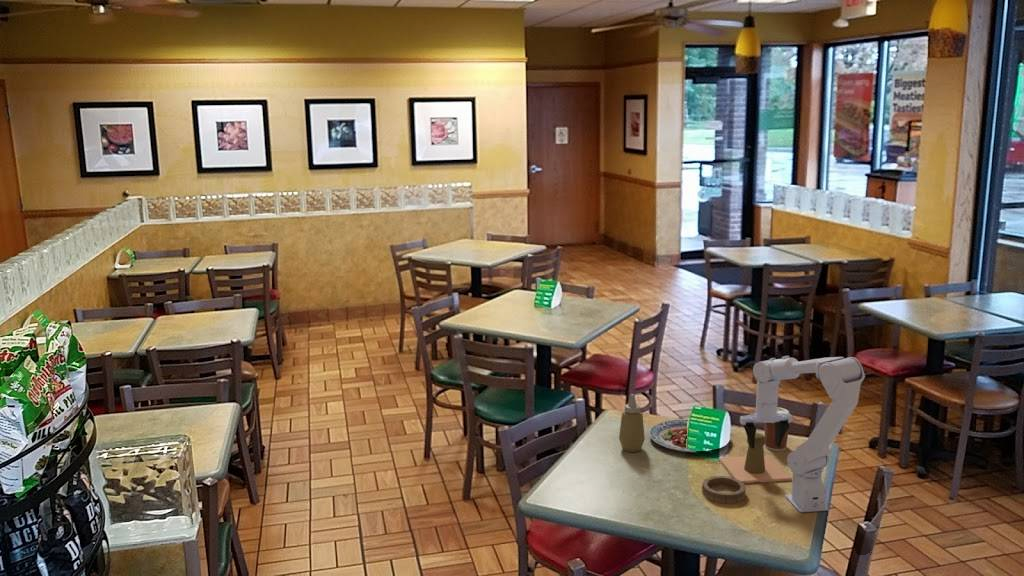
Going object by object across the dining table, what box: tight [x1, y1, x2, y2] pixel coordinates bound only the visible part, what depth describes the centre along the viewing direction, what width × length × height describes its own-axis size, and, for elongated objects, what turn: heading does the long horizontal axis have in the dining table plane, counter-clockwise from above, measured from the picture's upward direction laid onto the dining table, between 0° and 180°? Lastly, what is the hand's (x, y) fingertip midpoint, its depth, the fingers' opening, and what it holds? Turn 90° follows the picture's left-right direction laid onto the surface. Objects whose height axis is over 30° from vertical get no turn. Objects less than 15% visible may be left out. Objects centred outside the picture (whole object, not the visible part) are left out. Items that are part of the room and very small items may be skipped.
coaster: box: [718, 454, 793, 485], centre depth 243 cm, size 16×16×1 cm
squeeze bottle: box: [618, 393, 645, 453], centre depth 257 cm, size 8×8×18 cm
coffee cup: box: [763, 406, 793, 452], centre depth 257 cm, size 9×9×12 cm
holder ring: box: [701, 475, 747, 504], centre depth 229 cm, size 11×11×2 cm
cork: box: [744, 432, 765, 474], centre depth 240 cm, size 6×6×11 cm
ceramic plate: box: [648, 418, 732, 453], centre depth 265 cm, size 26×26×3 cm
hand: (764, 446), depth 234 cm, fingers open, 7 cm apart
